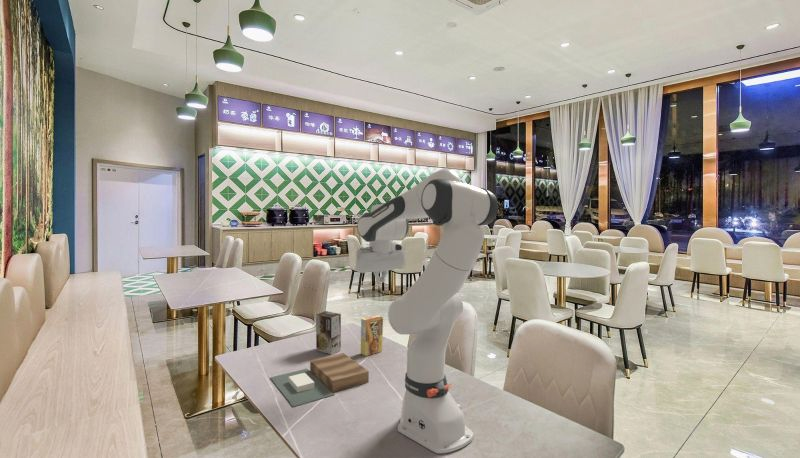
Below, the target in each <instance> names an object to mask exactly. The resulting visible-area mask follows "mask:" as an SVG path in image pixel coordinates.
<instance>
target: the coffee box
mask: <svg viewBox="0 0 800 458" xmlns="http://www.w3.org/2000/svg"><path fill="white" fill-rule="evenodd" d="M341 316H342V314H341V313H337V312H332V311H327V310H325V311H322V312H319V313H317V314H315V334H316V335H315V338H316V339H315V340H316V341H315V342H316V344H315V345H316V346H315V347H316V351H317V352H321V353H325V354H328V355H330V356H333V355H335V354H336V353H338V352H341V351H342V350H341V349H342V347H341V346H342V345H341V344H342V343H341V342H342V341H341V340H342V338H341V337H342V334H341V333H342V331H341V329H342V326H341V325H342V324H341V323H342V321H341V320H342V317H341Z"/></svg>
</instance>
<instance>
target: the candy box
mask: <svg viewBox="0 0 800 458" xmlns="http://www.w3.org/2000/svg"><path fill="white" fill-rule="evenodd" d="M383 320H384V317H383V316H380V315H379V314H377V315H376V314H375V315H372V316H367V317H362V318H360V353H361V355H363V356H365V357H366V356H370V355H374V354H377V353H381V352H382V353H383V335H384V334H383V333H384V331H383V330H384V329H383V328H384V326H383V325H384V324H383V323H384V321H383Z"/></svg>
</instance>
